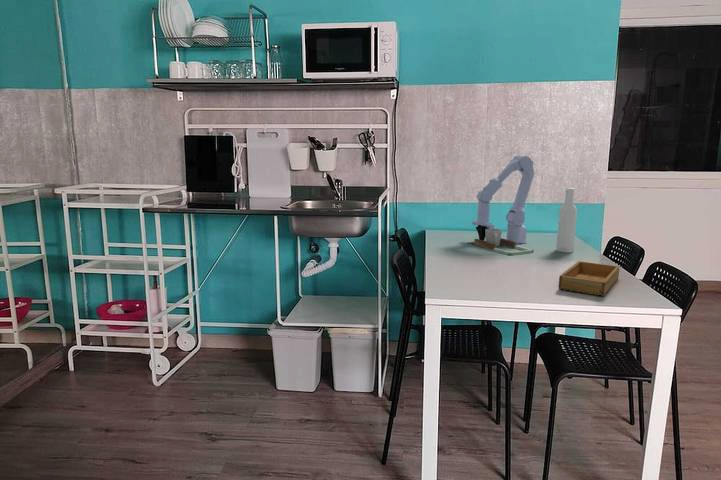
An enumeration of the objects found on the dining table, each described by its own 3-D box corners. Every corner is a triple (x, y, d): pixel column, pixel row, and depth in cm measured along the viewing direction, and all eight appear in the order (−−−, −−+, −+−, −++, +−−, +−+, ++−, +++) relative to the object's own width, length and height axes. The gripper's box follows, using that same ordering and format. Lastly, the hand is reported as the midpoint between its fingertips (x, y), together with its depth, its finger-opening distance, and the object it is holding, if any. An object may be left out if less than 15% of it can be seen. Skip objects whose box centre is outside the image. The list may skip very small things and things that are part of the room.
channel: (495, 242, 274) (496, 236, 273) (515, 247, 262) (515, 241, 261) (474, 244, 267) (474, 239, 267) (493, 250, 255) (493, 244, 255)
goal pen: (516, 248, 261) (516, 245, 261) (533, 252, 251) (533, 250, 251) (493, 250, 255) (493, 248, 254) (510, 255, 245) (510, 252, 245)
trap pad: (488, 240, 279) (488, 240, 278) (495, 242, 274) (495, 241, 274) (467, 242, 272) (467, 242, 272) (473, 244, 268) (473, 244, 268)
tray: (577, 273, 216) (578, 259, 215) (618, 279, 207) (619, 265, 206) (557, 291, 191) (559, 275, 189) (603, 298, 182) (605, 282, 181)
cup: (503, 248, 260) (505, 232, 258) (487, 248, 260) (488, 232, 259) (498, 244, 271) (499, 228, 269) (482, 243, 271) (483, 228, 269)
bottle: (570, 249, 260) (576, 187, 254) (575, 253, 252) (581, 189, 246) (553, 249, 260) (559, 187, 255) (558, 252, 253) (563, 188, 247)
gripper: (468, 212, 275) (466, 238, 277) (486, 216, 262) (485, 243, 265) (478, 211, 278) (477, 237, 280) (497, 215, 265) (496, 242, 268)
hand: (481, 240), depth 273 cm, fingers closed
